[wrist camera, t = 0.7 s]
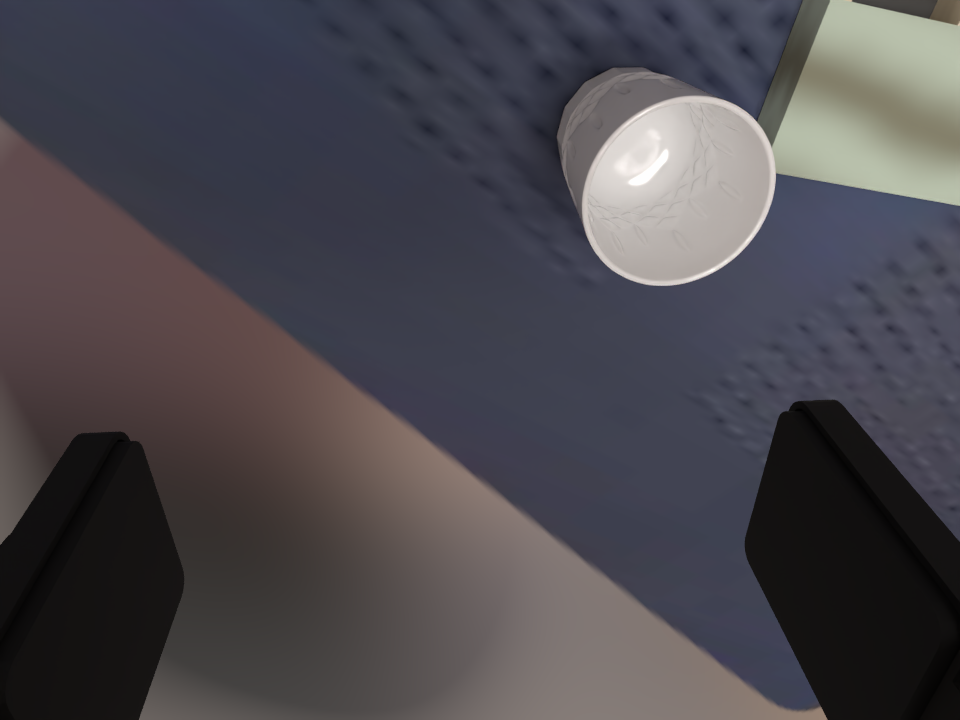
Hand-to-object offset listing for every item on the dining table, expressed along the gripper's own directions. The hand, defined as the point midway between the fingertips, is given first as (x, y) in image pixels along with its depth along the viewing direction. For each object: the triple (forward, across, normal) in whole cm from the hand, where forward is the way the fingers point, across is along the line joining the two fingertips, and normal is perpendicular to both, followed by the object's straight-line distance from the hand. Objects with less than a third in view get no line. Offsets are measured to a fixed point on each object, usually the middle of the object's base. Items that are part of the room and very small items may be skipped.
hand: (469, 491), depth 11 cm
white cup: (+29, -10, +2) cm, 31 cm away
